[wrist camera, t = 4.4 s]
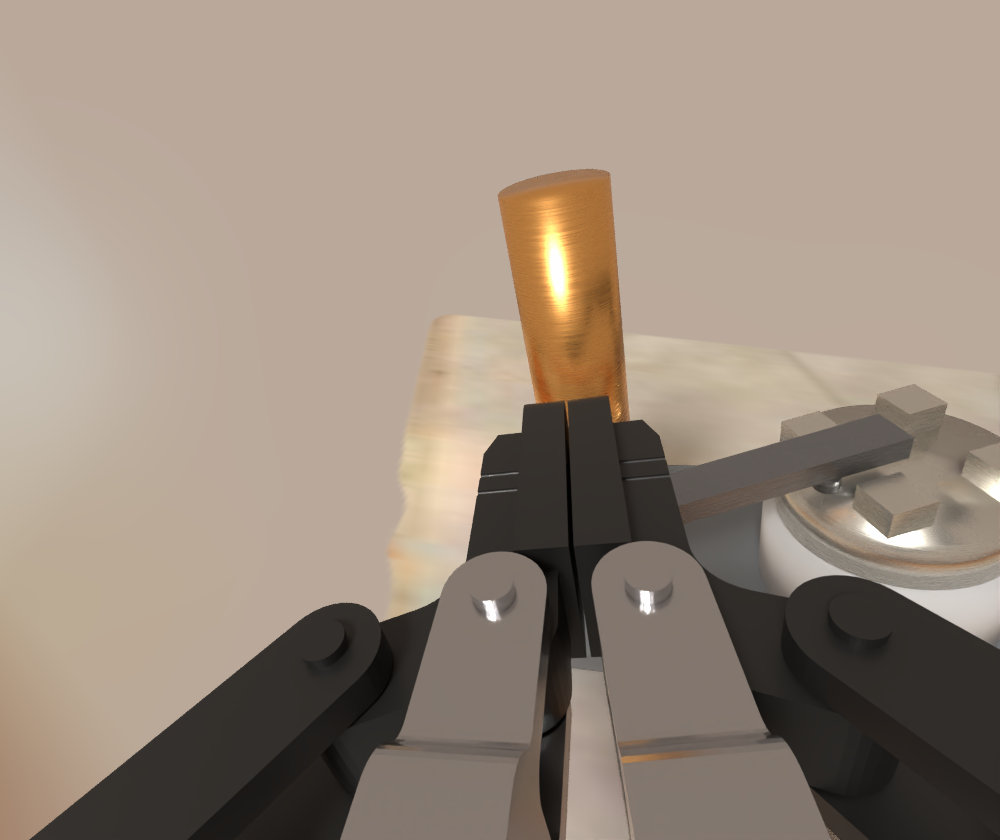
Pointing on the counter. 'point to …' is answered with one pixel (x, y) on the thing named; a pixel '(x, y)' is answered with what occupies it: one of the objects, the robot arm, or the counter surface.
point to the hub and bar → (804, 440)
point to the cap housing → (805, 569)
